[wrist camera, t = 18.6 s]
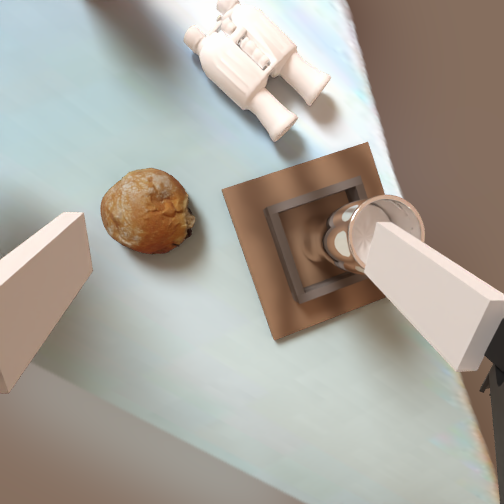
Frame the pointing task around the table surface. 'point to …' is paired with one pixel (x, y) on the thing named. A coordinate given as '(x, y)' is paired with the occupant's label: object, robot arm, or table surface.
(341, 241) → the beer glass
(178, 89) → the table surface
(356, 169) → the holder board
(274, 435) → the table surface
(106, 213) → the bread roll
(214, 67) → the binoculars
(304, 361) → the table surface
